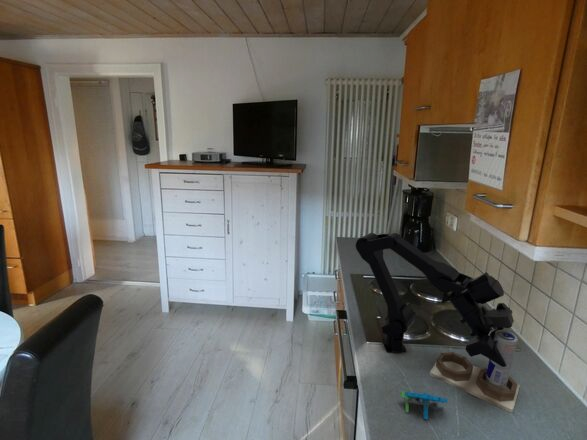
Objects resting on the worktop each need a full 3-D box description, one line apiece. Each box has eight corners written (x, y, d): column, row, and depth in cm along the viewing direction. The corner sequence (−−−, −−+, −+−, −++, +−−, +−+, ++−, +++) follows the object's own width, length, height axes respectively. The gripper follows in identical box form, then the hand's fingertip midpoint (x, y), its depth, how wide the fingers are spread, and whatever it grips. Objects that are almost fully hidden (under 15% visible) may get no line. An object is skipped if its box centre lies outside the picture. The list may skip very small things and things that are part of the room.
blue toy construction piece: (447, 397, 91) (446, 394, 83) (447, 423, 88) (447, 423, 80) (403, 390, 95) (399, 387, 87) (402, 414, 93) (398, 413, 85)
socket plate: (429, 374, 101) (430, 365, 100) (441, 355, 109) (443, 346, 108) (512, 413, 88) (514, 402, 87) (519, 388, 96) (521, 377, 95)
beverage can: (503, 376, 96) (513, 330, 92) (509, 390, 92) (520, 342, 87) (483, 373, 98) (492, 327, 93) (488, 386, 93) (498, 339, 88)
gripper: (487, 313, 83) (532, 373, 80) (503, 285, 97) (541, 334, 93) (448, 328, 90) (488, 383, 87) (468, 300, 104) (502, 346, 100)
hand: (506, 360), depth 92 cm, fingers closed on beverage can, 5 cm apart
